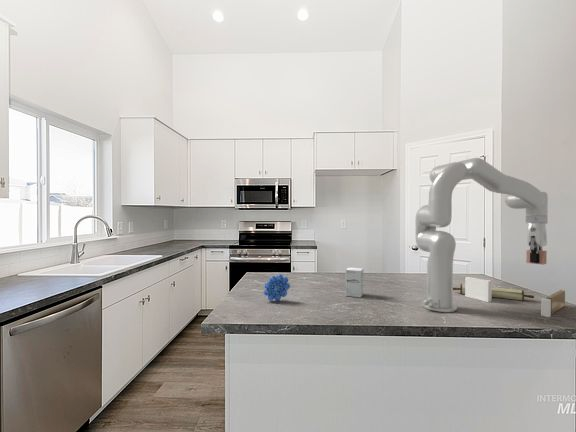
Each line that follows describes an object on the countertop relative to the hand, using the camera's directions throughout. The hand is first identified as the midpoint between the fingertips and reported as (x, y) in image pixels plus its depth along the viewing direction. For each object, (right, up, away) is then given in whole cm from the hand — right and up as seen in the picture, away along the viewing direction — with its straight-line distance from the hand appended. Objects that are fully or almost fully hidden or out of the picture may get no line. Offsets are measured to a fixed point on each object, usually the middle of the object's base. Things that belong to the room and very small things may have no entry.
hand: (536, 261), depth 138 cm
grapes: (-113, -18, +3) cm, 115 cm away
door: (0, -18, -10) cm, 21 cm away
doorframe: (-17, -18, -4) cm, 25 cm away
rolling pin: (-14, -18, +9) cm, 25 cm away
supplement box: (-77, -18, +12) cm, 80 cm away
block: (0, -1, 0) cm, 1 cm away
